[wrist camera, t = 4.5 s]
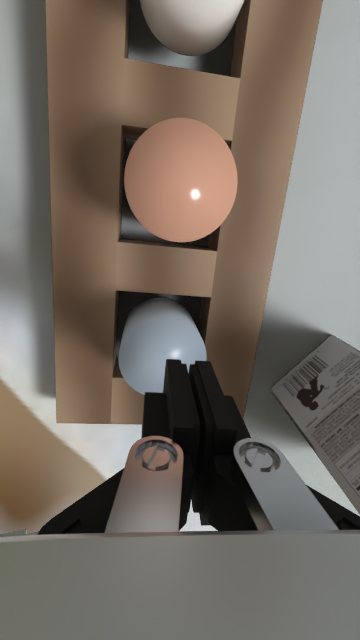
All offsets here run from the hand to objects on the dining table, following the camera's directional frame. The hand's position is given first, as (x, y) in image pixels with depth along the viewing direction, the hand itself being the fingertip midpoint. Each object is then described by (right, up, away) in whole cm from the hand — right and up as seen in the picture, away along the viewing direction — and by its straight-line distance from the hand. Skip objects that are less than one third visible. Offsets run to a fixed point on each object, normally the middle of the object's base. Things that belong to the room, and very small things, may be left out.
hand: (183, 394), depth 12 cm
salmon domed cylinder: (0, +9, +4) cm, 10 cm away
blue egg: (-1, +2, +7) cm, 8 cm away
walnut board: (-1, +10, +6) cm, 12 cm away
